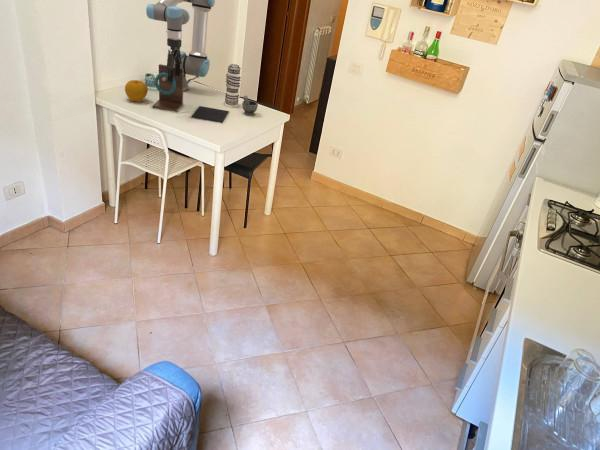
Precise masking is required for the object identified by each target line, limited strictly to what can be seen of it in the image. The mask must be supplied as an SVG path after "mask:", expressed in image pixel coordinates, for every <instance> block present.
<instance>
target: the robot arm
mask: <svg viewBox="0 0 600 450" xmlns="http://www.w3.org/2000/svg"><path fill="white" fill-rule="evenodd" d="M184 2H185V3H190V4H191V7H192V9H193V19H192V20H193V22H192V36H191V37H192V38H191V51H189V52H188V55H187V52H186V51H181V48H182V38H183V37H182V35H183V33H182V32H183V31H182V27H183V25H186V24H187V23H188V22H189V21H190V19H191V17H190V13H189V11H188V10H186V9H185V8H181V7H179V6H178V4H181V3H184ZM215 3H216V0H158V1H157V2H156V3H148V4H147V5H146V8H145V9H146V10H145V12H146V16H147V18H148V19H150V20H154V21H159V22H166V45H167V46H168V47H170V48H169V49H168V53H167V59H166V65H167V67H166V69H168V81H171V82H173V67H175V75H176V76H180V68H183V92H185V91H186V92H187V91H188V90H189V84H188V83H189V82H190V81H194V80H195V79H199V78H205V77H207V75H208V74H209V73H208V72H209V70H210V65H211V62H210V61H211V60H210V59H209V58H208V54H207V53H206V46H207V33H208V22H209V12H210V11H212V8H214V7H215ZM186 75H189V76H192V77H193V76H194V77H193V78H190V79H187V76H186Z"/></svg>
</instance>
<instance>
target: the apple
mask: <svg viewBox="0 0 600 450" xmlns="http://www.w3.org/2000/svg"><path fill="white" fill-rule="evenodd" d="M148 89H149V88H148V85H147V84H146V83H145V82H144V81H141V80H139V79H135V80H134V79H132V80H129V81H127V82H126V84H125V86H124V92H125V95H126V97H128V99H129V100H130V101H132V103H133V102H135V103H139V102H142V101H144V99H145V98H146V96H147V94H148V91H149V90H148Z"/></svg>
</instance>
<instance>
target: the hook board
mask: <svg viewBox="0 0 600 450" xmlns="http://www.w3.org/2000/svg"><path fill="white" fill-rule="evenodd" d="M166 67H167V64H162V63H159V64H158V74H160V73H168V69H166ZM173 78H174V80H175V82H176V89H175V90H174V92H173V93H171V94H169V95H167V94H162V93H161V92H159V91H158V100H157V101H155V103H153V104H152V109H157V110H163V111H169V112H173V113H177V112H178V111H179V110H180V109H182V107H183V106H184V91H183V68H180V76H176V75H175V67H173ZM158 85H159V87H160V88H161V89H162V90H163V91H170V90H171V89H172V87H173V83H172V82H171V81H168V77H166V76H162V77H160V78H159V80H158Z"/></svg>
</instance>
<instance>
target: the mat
mask: <svg viewBox="0 0 600 450" xmlns="http://www.w3.org/2000/svg"><path fill="white" fill-rule="evenodd" d="M228 114H229V110H227V109H219V108H213V107H208V106H202V105H199V106H198V107H197V109H195V111H194V112H193V114H191V116H190V118H191V119H197V120H203V121H208V122H214V123H223V122H224V121H225V119H226V118H227V116H228Z"/></svg>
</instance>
